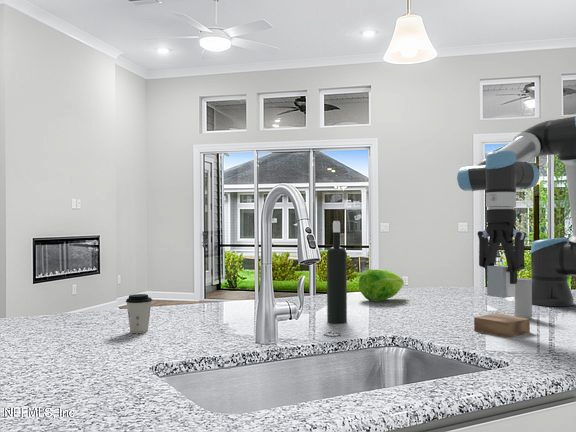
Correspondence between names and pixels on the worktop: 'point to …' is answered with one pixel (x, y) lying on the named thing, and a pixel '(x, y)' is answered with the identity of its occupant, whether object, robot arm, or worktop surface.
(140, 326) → the coffee cup
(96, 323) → the worktop surface
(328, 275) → the wine bottle
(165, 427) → the worktop surface
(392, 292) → the lettuce
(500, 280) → the slate block
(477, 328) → the walnut block
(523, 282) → the beverage can
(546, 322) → the worktop surface
